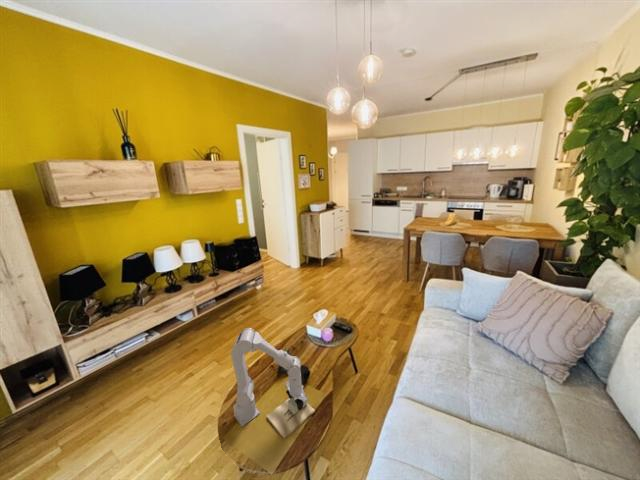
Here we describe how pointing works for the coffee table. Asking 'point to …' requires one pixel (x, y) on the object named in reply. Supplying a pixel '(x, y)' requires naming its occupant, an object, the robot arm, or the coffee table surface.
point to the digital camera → (304, 374)
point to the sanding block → (293, 406)
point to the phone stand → (281, 366)
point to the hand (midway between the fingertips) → (297, 405)
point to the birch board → (288, 418)
